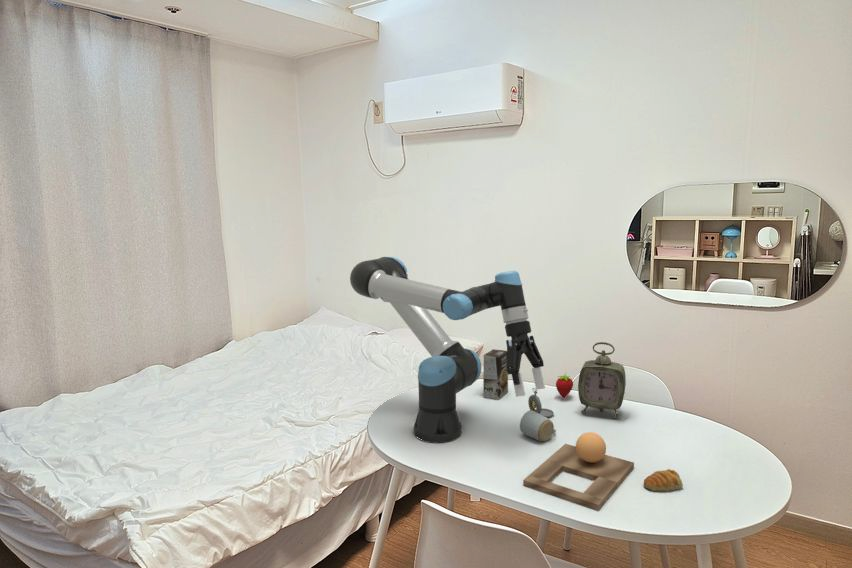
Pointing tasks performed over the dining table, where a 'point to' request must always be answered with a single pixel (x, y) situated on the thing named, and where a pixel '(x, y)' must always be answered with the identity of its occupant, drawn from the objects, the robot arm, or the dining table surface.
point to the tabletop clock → (602, 383)
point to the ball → (591, 447)
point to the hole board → (602, 472)
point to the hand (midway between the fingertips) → (531, 392)
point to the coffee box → (495, 374)
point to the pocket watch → (538, 406)
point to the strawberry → (564, 385)
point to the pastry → (663, 481)
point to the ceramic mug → (536, 426)
